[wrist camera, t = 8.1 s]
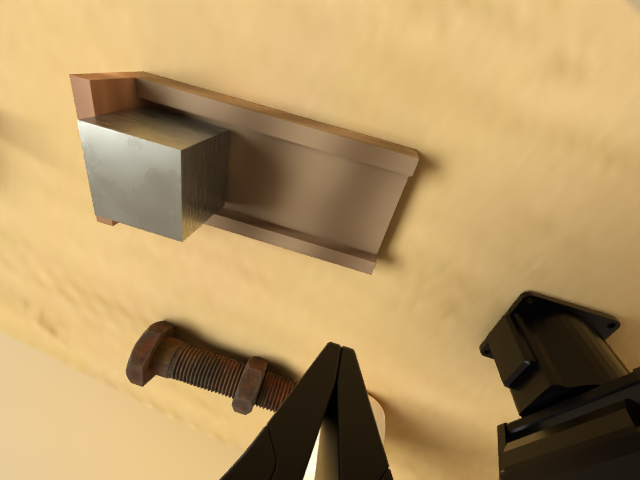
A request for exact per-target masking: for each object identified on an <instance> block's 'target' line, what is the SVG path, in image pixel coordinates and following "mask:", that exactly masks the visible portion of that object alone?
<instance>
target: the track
mask: <svg viewBox="0 0 640 480" xmlns="http://www.w3.org/2000/svg"><path fill="white" fill-rule="evenodd" d="M69 75H70V80H71V85H72V91H73V96H74V101H75V106H76V112H77V117H78V119H83V118H89V117H94V116H99V115H105V114H110V113H115V112H121V111H126V110H132V109H137V108H142V107H148V106H152V107H155V108H158V109H162V110H165V111H169V112H172V113H176V114H179V115H183V116H186V117H189V118H193V119H196V120H200V121H203V122H207V123H210V124H214V125H217V126H220V127H224V128H227V129H230V136H229V150H228V165H227V180H226V195H225V205H224V206H223V207H222V208H220V209H219V210H218V211H217V212H216V213H215V214H214V215H212V216H211V217H210V218H209V219H208V220H207V221H206V222H204V223H203V224H207V225H210V226H213V227H216V228H220V229H223V230H226V231H230V232H233V233H236V234H239V235H243V236H246V237H249V238H252V239H256V240H259V241H262V242H266V243H269V244H272V245H275V246H279V247H282V248H285V249H288V250H292V251H295V252H298V253H302V254H305V255H308V256H311V257H315V258H318V259H321V260H324V261H328V262H331V263H334V264H338V265H341V266H344V267H347V268H351V269H354V270H357V271H360V272H364V273H367V274H370V275H372V272H373V270H374V267H375V265H376V259H377V253H378V250H379V248H380V246H381V243H382V241H383V238H384V236H385V233H386V231H387V228H388V226H389V223H390V221H391V218H392V216H393V214H394V211H395V209H396V206H397V204H398V201H399V199H400V196H401V194H402V191H403V189H404V187H405V184H406V182H407V179H408V177H409V176H411V177H412V175H413V173H414V171H415V168H416V166H417V163H418V161H419V156H418V153H417V150H416V149H412V148H409V147H405V146H402V145H398V144H395V143H391V142H388V141H384V140H381V139H377V138H374V137H370V136H367V135H363V134H360V133H356V132H353V131H349V130H346V129H342V128H339V127H335V126H332V125H328V124H325V123H321V122H318V121H314V120H311V119H307V118H304V117H300V116H297V115H293V114H290V113H286V112H283V111H279V110H276V109H272V108H269V107H265V106H262V105H258V104H255V103H251V102H248V101H244V100H241V99H237V98H234V97H230V96H227V95H223V94H220V93H216V92H213V91H209V90H206V89H202V88H199V87H195V86H192V85H188V84H185V83H181V82H178V81H174V80H171V79H167V78H164V77H160V76H157V75H153V74H150V73H146V72H118V73H92V74H69ZM96 217H97V221H98V222H101V223H104V224H108V225H111V226H114V225H115V224H117V223H119V222H116V221H113V220H110V219H106V218H103V217H100V216H97V215H96Z"/></svg>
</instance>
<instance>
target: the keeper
mask: <svg viewBox="0 0 640 480" xmlns="http://www.w3.org/2000/svg"><path fill="white" fill-rule="evenodd" d="M77 122H78V128H79V133H80V138H81V143H82V149H83V154H84V159H85V164H86V169H87V175H88V180H89V185H90V190H91V196H92V201H93V206H94V211H95V215H97V216H100V217H103V218H106V219H110V220H113V221H116V222H119V223H122V224H126V225H129V226H132V227H135V228H139V229H142V230H145V231H148V232H152V233H155V234H158V235H161V236H164V237H168V238H171V239H174V240H177V241H181V242H183V241H184V240H185V239H186V238H187V237H189V236H190V235H191V234H192V233H193V232H194V231H195V230H197V229H198V228H199V227H200V226H201V225H202V224H203V223H204V222H206V221H207V220H208V219H209V218H210V217H211V216H212V215H214V214H215V213H216V212H217V211H218V210H219V209H220V208H222V207H223V206H224V205H225V195H226V180H227V165H228V150H229V136H230V129H227V128H224V127H220V126H217V125H214V124H210V123H207V122H203V121H200V120H196V119H193V118H189V117H186V116H183V115H179V114H176V113H172V112H169V111H165V110H162V109H158V108H155V107H152V106H148V107H142V108H137V109H132V110H126V111H121V112H115V113H110V114H105V115H99V116H94V117H89V118H83V119H78V120H77Z"/></svg>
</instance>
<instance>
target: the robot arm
mask: <svg viewBox="0 0 640 480" xmlns="http://www.w3.org/2000/svg"><path fill="white" fill-rule="evenodd" d="M528 298H531V299H530V300H526V299H528ZM609 323H610V324H609ZM619 327H620V322H619V321H618V320H617V319H616V318H615V317H613V316H610V315H607V314H604V313H600V312H597V311H594V310H590V309H587V308H584V307H580V306H577V305H574V304H570V303H567V302H564V301H560V300H557V299H554V298H550V297H547V296H544V295H540V294H537V293H534V292H529V291H528V292H524V293H522V294H521V295H520V296H519V297H518V298H517V300H516V301H515V302H514V303H513V305H512V306H511V307H510V309H509V310H508V311H507V312H506V314H505V315H503V317H502V318H501V319H500V320H499V322H498V323H497V324H496V325H495V327H494V328H493V329H492V331H491V332H490V333H489V334H488V336H487V338H486V339H485V340H484V341H483V343H482V344H481V345H480V347H479V350H480V353H481V354H482V355H483V356H485V357H489V358H492V359H494V360H495V363H496V366H497V368H498V371H499V374H500V377H501V380H502V382H503V384H504V386H505V387H508V388H509V389H510V392H511V394H512V397H513V400H514V402H515V405H516V408H517V410H518V413H519V415H520V416H521V417H522V418H520V419H517V420H515V421H512V422H510V423H503V424H501V425H498V426H497V433H498V456H499V480H640V367H638V368H635V369H633V371H634V372H631V373H630V372H629V370H628V369H627V368H626V366H625V365H624V364H623V363H622V361H621V360H620V359H619V358H618V356H617V355H616V354H615V352H614V351H613V350H612V349H611V347H610V346H609V345H608V343H607V342H606V341H605V340H606V339H607V338H608V337H609V336H610V335H611V334H612V333H614V332H615V331H616V330H617V329H618V328H619ZM320 428H321V429H320ZM319 431H320V437H319V445H318V454H317V462H316V470H315V478H314V480H393V477H392V474H391V470H390V469H388V468H389V464H388V461H387V457H386V454H385V451H384V447H383V444H382V440H381V437H380V434H379V430H378V427H377V424H376V420H375V417H374V414H373V410H372V407H371V404H370V400H369V397H368V394H367V390H366V387H365V384H364V380H363V377H362V374H361V370H360V367H359V363H358V360H357V357H356V353H355V351H354V350H353V349H351V348H348V347H345V346H342V347H341V346H340V345H339V344H336V343H333V342H329V343H327V345H326V346H325V347H324V349H323V350H322V351H321V353H320V354H319V355H318V357H317V358H316V359H315V361H314V362H313V363H312V365H311V366H310V367H309V369H308V370H307V371H306V373H305V374H304V375H303V377H302V378H301V379H300V381H299V382H298V383H297V385H296V386H295V387H294V389H293V390H292V391H291V393H290V394H289V395H288V397H287V398H286V399H285V400H284V402H283V403H282V404H281V406H280V407H279V408H278V410H277V411H276V412H275V414H274V415H273V416H272V418H271V419H270V420H269V422H268V423H267V425H266V426H265V427H264V428H263V429H262V431H261V432H260V433H259V435H258V436H257V437H256V439H255V440H254V441H253V442H252V444H251V445H250V446H249V447H248V448H247V450H246V451H245V452H244V453H243V455H242V456H241V457H240V458H239V459H238V460H237V461H236V462H235V464H234V465H233V466H232V467H231V468H230V469H229V470H228V471H227V472H226V473H225V474H224V476H222V477H221V479H220V480H303V479H304V476H305V473H306V470H307V467H308V464H309V461H310V458H311V455H312V452H313V449H314V446H315V443H316V440H317V437H318V434H319Z"/></svg>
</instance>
